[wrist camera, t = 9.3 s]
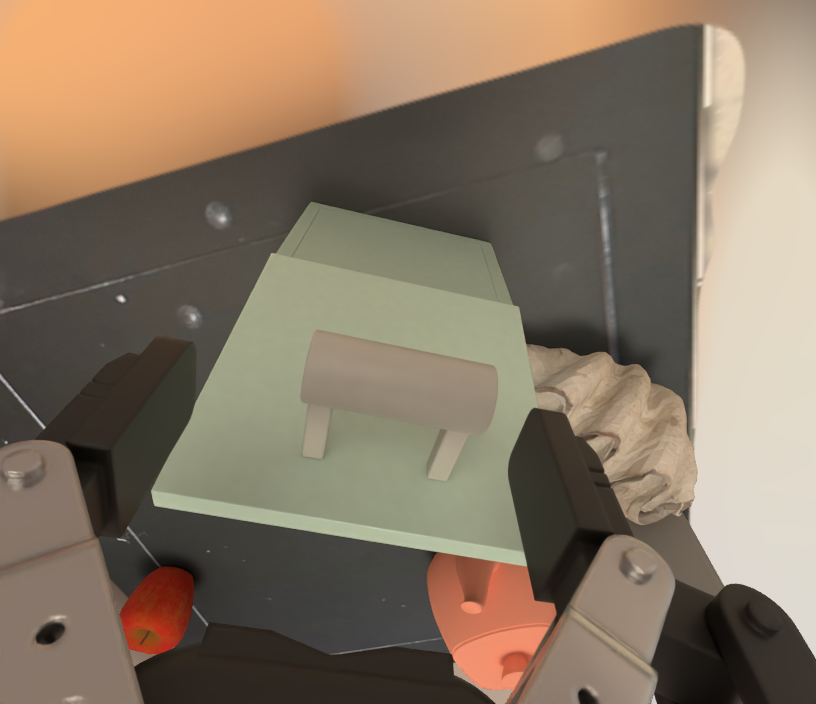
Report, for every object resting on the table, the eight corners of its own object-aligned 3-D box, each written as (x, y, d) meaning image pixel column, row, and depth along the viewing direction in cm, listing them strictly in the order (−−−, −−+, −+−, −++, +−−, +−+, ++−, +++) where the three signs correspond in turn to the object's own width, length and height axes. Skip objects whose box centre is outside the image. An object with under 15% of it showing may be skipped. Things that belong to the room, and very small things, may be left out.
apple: (192, 550, 51) (160, 623, 45) (214, 587, 54) (188, 660, 48) (134, 556, 52) (94, 629, 45) (159, 592, 55) (126, 665, 49)
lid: (556, 571, 16) (648, 470, 12) (153, 506, 14) (126, 372, 11) (513, 318, 25) (557, 222, 22) (270, 267, 24) (276, 155, 21)
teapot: (523, 456, 44) (555, 585, 33) (592, 584, 53) (635, 717, 42) (387, 504, 47) (378, 635, 37) (474, 617, 56) (487, 747, 46)
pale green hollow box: (444, 386, 40) (450, 477, 32) (290, 356, 39) (255, 443, 30) (490, 242, 34) (514, 308, 26) (310, 201, 33) (273, 256, 24)
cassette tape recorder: (582, 474, 45) (731, 869, 23) (654, 457, 44) (879, 856, 22) (607, 568, 51) (740, 941, 30) (670, 555, 50) (855, 934, 29)
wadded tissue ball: (551, 470, 45) (582, 571, 36) (493, 335, 38) (515, 421, 29) (670, 434, 42) (735, 533, 34) (633, 282, 35) (702, 359, 27)
